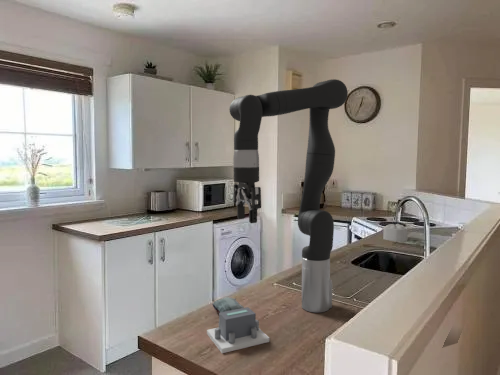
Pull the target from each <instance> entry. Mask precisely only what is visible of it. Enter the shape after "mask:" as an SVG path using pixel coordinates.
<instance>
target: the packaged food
mask: <svg viewBox="0 0 500 375" xmlns="http://www.w3.org/2000/svg"><path fill="white" fill-rule="evenodd" d="M212 307H213V308H214V310H215V312H217V313H218V314H219V313H220V312H225V311H231V310H236V309H241V308H245V307H244V306H243V305H242V304H240V303H239V302H238V301H237V298H236V297H235V298H233V297H229V296H226V297H223V298H220V299H217V300H215V301H214V302H213V303H212Z"/></svg>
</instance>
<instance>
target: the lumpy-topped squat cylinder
mask: <svg viewBox="0 0 500 375" xmlns="http://www.w3.org/2000/svg"><path fill="white" fill-rule="evenodd" d="M408 231H409V229H408V228H407V227H406V226H404V225H402V224H399V223H396V224H394V223H389V224H387V225H386V226H383V236H382V239H383V240H386V241H390V242H407V241H408V236H409V235H408V234H409V232H408Z"/></svg>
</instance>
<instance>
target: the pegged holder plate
mask: <svg viewBox="0 0 500 375" xmlns="http://www.w3.org/2000/svg"><path fill="white" fill-rule="evenodd" d="M206 335H207V336H208V338H210V340H211V342H212V343H213V344H214V345H215V346H216V347H217V350H219V352H220V353H221V354H225V353H228V352H232V351H237V350H241V349H245V348H249V347H253V346H258V345H262V344H265V343H270V336H268V335H267V334H266V333H265V332H264V331H263V330H262V329H261V328H260V320H258V319H256V327H252V328H251V335H249V336H245V337H241V338H237V339H235V333H234V332H230V333H229V340H228V341H226V340H225V339H224V338H223V337H222V336H221V329H220V328H219V326H218V327H214V328H209V329H206Z"/></svg>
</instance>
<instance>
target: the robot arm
mask: <svg viewBox="0 0 500 375" xmlns="http://www.w3.org/2000/svg"><path fill="white" fill-rule="evenodd" d="M348 94H349V93H348V87H347V85H346V84H345V82H343V81H341V80H340V79H336V78H335V79H334V78H333V79H328V80H324V81H320V82H317V83H315V84H313V86H311V87H303V88H296V89H287V90H277V91H269V92H266V93H262V94H259V95H254V94H247V95H243V96H239V97H237V98H235V99H233V101H231V103H230V106H229V109H228V110H229V113H230V116H231V117H232V119H234V120H235V121H237V122H239V126H238V129H236V130H235V132H234V135H233V159H232V160H233V181H234V182H235V184H233V204H235V206H236V207H237V208H236V216H237V219H238V220H241V219H245V218H246V215H245V214H246V213H245V212H246V210H245V209H246V207H245V205H247V207H248V219H249V220H248V223H250V224H257V222H258V210H259V209H261V208H262V190H261V189H262V188H261V187H260V186H256V183H258V182H259V181H260V154H259V132H260V130H261V124H262V120H263V119H262V118H264V117H275V116H282V115H287V114H290V113H294V112H299V111H304V110H306V109H307V110H309V125H308V126H309V128H308V138H307V139H308V140H307V148H306V157H305V169H304V171H305V172H304V178H303V179H304V180H303V189H302V194H301V201H300V205H299V210H298V215H297V227H298V229H299V231H300V232H301V233H302V234H304V235H306V236H309V243H308V245H306V246H304V247H303V248H302V249H301V308H302V309H303V311H307V312H309V313H310V312H311V313H324V312H327V311H329V309H332V308H333V280H332V279H331V277H330V276H331V253H332V250H333V246H334V231H335V230H334V229H335V224H334V223H335V222H334V219H333V216H332V214H331V213H330V212H329V211H326V210H322V209H321V208H320V206H321V198H322V194H323V192H324V189H325V187H326V186H327V184H328V182H329V181H330V179H331V176H332V175H333V172H334V167H335V160H336V159H335V158H336V148H335V143H334V140H333V138H332V136H331V133H330V129H329V114H330V110H334V109H338V108H340V107H342V106H343V105H344V104H345V103H346V101H347V99H348V96H349V95H348Z"/></svg>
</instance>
